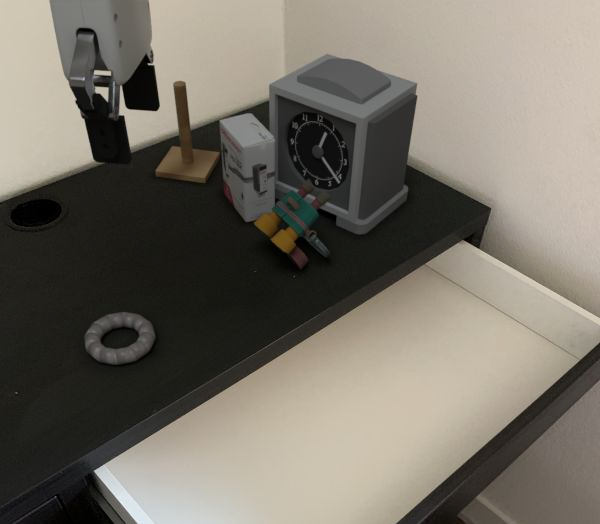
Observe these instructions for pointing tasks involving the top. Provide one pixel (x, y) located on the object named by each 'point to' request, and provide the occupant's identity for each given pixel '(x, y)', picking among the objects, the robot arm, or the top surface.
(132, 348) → the ring
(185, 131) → the stand
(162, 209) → the top surface
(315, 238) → the teal and yellow figure
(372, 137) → the alarm clock
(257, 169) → the ink box
